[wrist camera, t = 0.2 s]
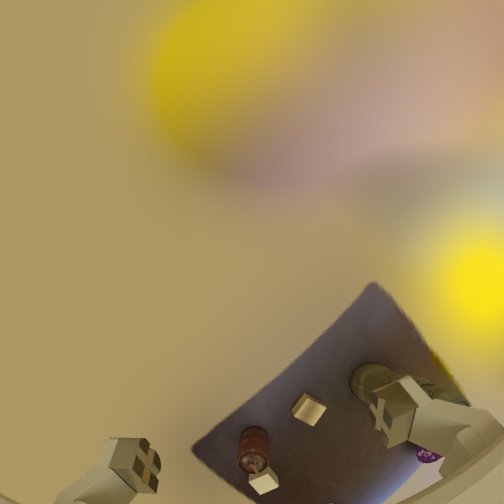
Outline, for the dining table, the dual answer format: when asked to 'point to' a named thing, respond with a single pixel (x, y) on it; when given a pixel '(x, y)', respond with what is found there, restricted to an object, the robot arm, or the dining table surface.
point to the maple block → (308, 409)
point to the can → (253, 451)
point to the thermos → (379, 376)
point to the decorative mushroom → (426, 455)
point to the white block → (264, 481)
